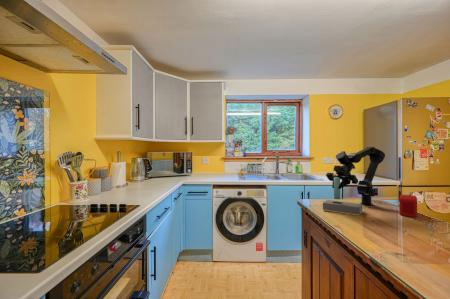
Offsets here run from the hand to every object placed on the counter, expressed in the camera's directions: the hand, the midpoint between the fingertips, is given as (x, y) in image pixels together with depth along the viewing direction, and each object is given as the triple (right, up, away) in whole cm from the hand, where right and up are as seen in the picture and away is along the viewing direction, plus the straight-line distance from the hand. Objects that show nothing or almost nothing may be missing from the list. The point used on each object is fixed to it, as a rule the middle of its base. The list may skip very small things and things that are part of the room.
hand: (335, 188), depth 145 cm
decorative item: (+37, -13, -9) cm, 41 cm away
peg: (+1, -7, +1) cm, 7 cm away
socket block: (+3, -13, -1) cm, 14 cm away
